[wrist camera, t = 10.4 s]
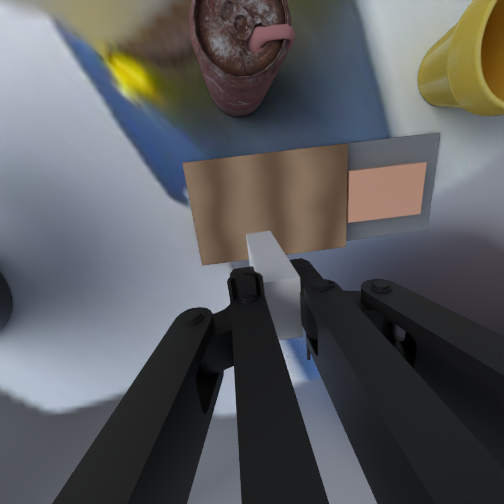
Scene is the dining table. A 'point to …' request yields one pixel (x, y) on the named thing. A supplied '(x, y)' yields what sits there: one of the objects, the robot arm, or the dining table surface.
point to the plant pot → (468, 62)
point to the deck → (269, 201)
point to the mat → (390, 154)
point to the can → (240, 49)
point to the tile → (385, 191)
